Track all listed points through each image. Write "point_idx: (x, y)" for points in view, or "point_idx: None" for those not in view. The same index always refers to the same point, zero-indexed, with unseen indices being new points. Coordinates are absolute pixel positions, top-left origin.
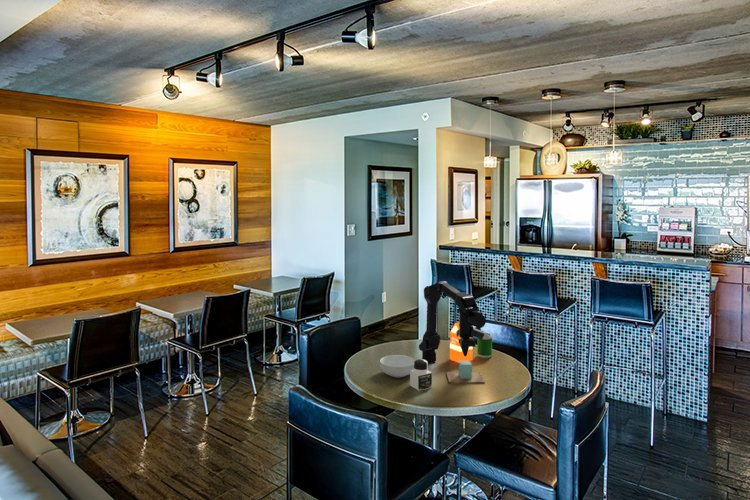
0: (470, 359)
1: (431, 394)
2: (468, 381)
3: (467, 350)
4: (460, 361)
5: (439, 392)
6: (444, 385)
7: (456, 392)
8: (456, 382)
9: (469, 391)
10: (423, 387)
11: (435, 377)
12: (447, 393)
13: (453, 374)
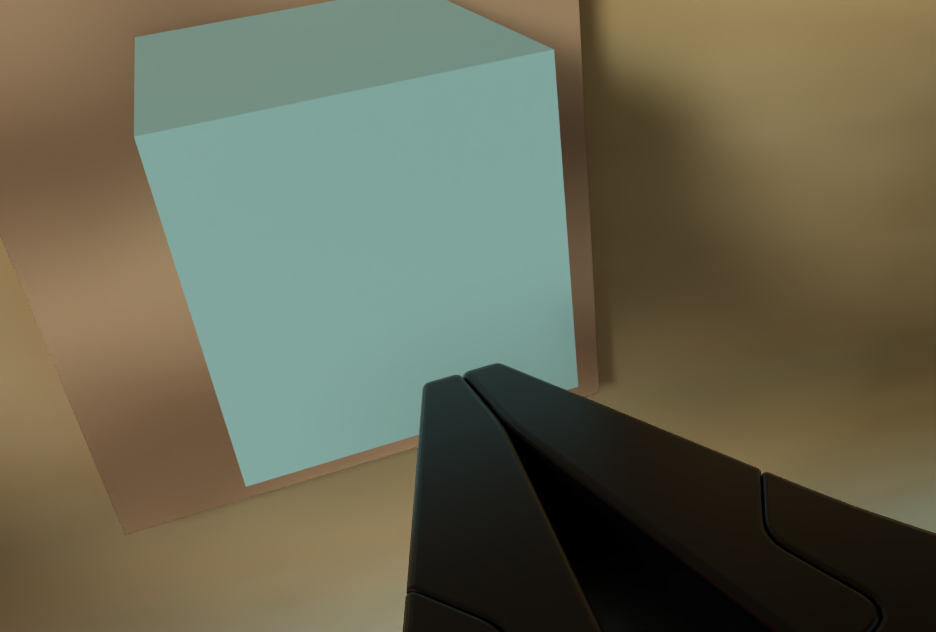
0: None
1: (924, 492)
2: (562, 57)
3: (739, 491)
4: (297, 434)
5: (883, 428)
6: (663, 422)
7: (911, 222)
8: (586, 275)
9: (902, 21)
10: None
11: (351, 610)
12: (924, 332)
13: (212, 391)
